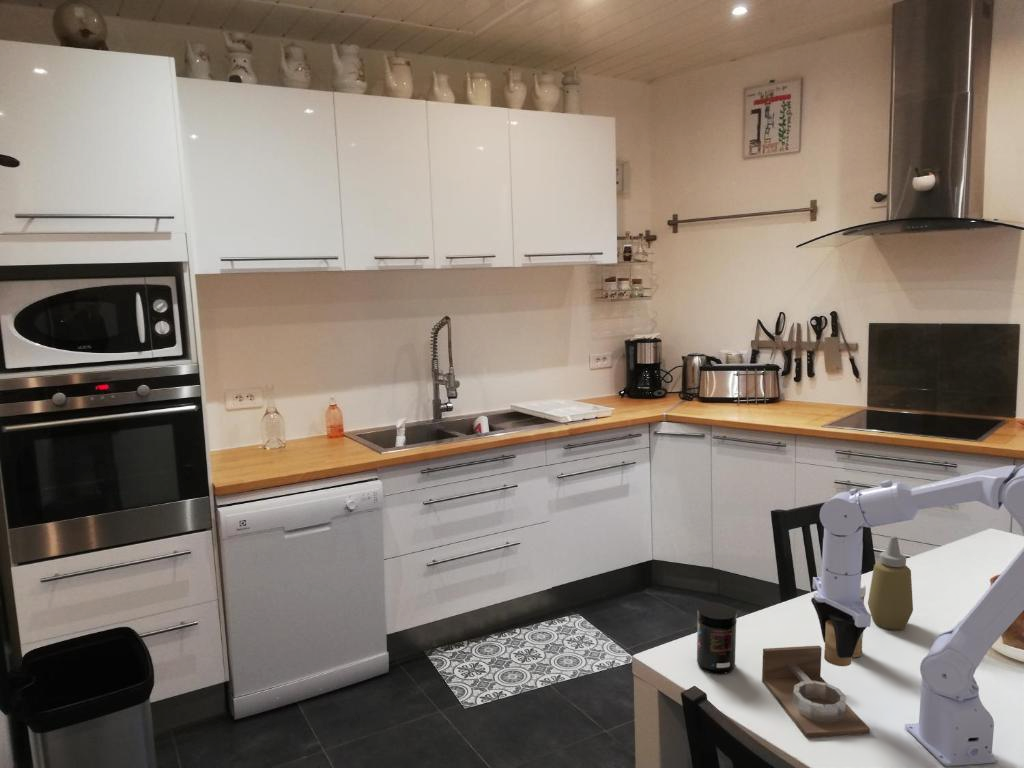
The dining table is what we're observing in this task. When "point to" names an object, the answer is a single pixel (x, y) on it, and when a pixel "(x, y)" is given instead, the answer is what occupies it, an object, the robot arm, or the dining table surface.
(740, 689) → the dining table surface
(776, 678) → the cup bracket
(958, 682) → the robot arm
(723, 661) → the supplement container
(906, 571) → the squeeze bottle
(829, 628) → the oak peg
